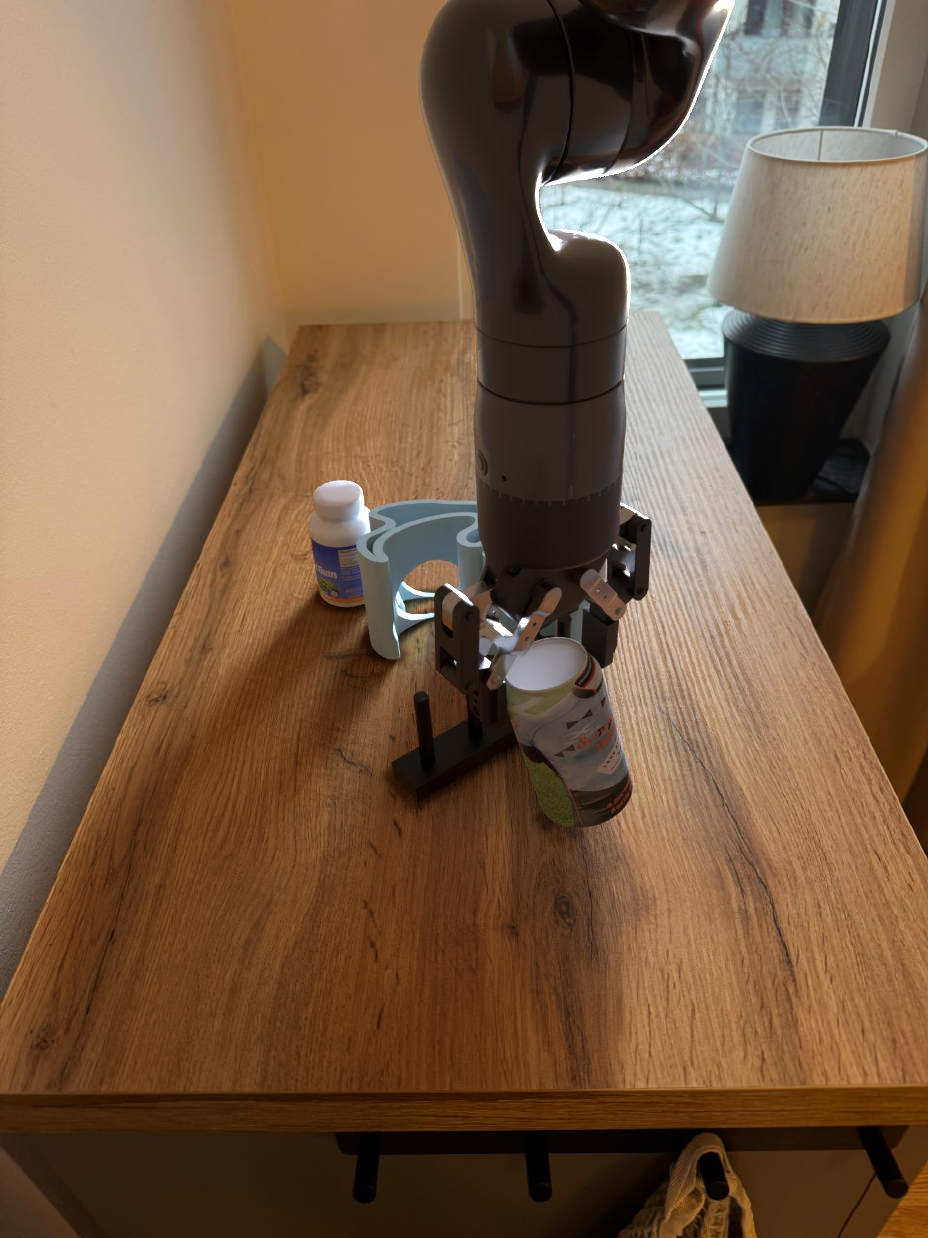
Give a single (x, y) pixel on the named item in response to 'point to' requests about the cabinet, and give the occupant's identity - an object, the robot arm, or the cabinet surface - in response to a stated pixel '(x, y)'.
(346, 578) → the pill bottle
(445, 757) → the rack
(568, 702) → the beverage can
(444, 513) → the squiggly pen holder
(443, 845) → the cabinet surface
